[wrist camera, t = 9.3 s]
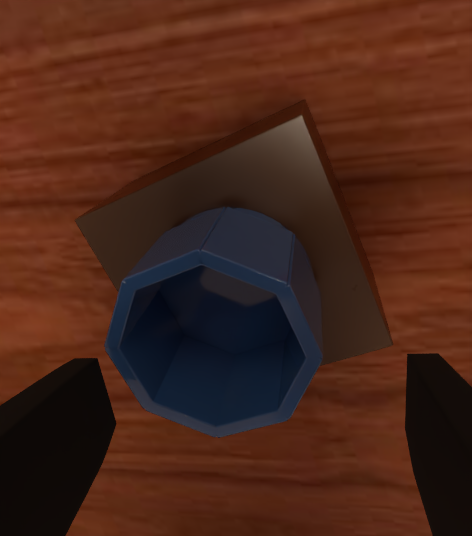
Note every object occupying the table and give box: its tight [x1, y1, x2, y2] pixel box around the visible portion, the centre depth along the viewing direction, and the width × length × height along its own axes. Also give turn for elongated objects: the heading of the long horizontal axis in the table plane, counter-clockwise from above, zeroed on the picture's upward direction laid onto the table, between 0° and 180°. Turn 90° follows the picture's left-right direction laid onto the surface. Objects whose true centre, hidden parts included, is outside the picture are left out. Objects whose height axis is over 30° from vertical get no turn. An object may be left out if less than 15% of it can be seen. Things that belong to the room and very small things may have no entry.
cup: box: [104, 207, 323, 438], centre depth 13 cm, size 5×5×4 cm
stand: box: [75, 100, 393, 366], centre depth 17 cm, size 8×8×6 cm
